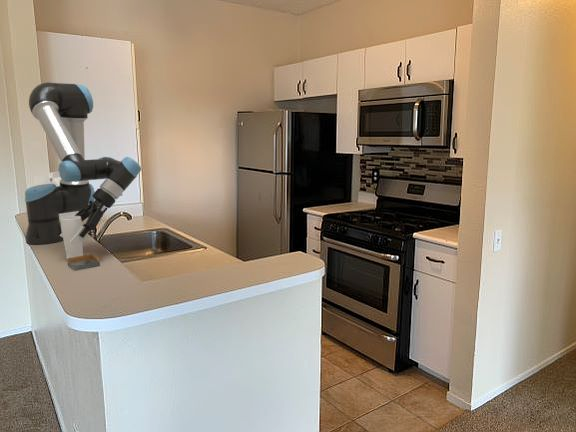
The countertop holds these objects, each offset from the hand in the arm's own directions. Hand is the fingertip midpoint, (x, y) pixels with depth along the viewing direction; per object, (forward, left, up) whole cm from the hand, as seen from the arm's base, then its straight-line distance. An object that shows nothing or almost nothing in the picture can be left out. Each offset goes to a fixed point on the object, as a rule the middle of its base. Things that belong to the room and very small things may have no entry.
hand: (67, 241), depth 161 cm
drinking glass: (0, +2, -7) cm, 7 cm away
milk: (-80, +15, -7) cm, 82 cm away
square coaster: (+11, +2, -7) cm, 13 cm away
